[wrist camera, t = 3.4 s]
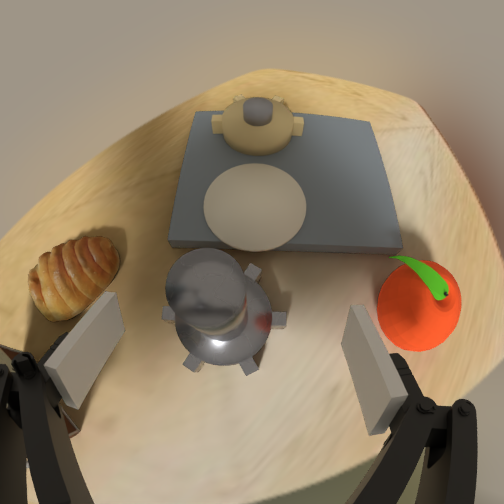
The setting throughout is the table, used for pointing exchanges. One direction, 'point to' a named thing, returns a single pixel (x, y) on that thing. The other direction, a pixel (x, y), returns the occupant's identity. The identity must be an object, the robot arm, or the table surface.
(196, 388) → the table surface
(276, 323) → the gear
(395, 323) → the clementine
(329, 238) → the gear board
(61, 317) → the pastry
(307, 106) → the table surface
